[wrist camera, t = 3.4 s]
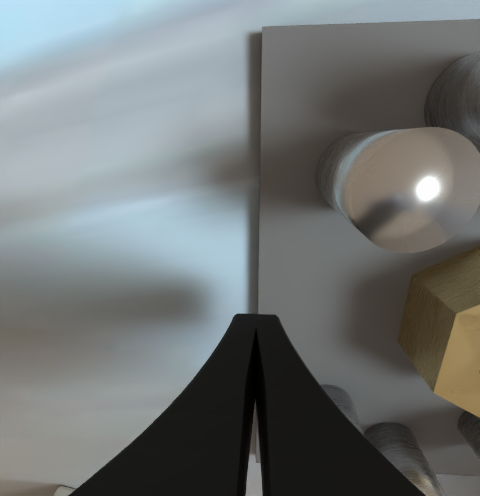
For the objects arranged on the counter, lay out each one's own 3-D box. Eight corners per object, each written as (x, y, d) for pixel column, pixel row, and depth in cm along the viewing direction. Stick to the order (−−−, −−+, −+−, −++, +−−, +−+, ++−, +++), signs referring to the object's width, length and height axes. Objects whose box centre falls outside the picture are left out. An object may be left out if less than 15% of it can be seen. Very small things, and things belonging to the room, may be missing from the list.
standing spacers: (685, 48, 8) (1095, -42, 4) (498, 465, 13) (590, 592, 10) (324, 58, 8) (379, -12, 4) (293, 453, 14) (305, 568, 10)
